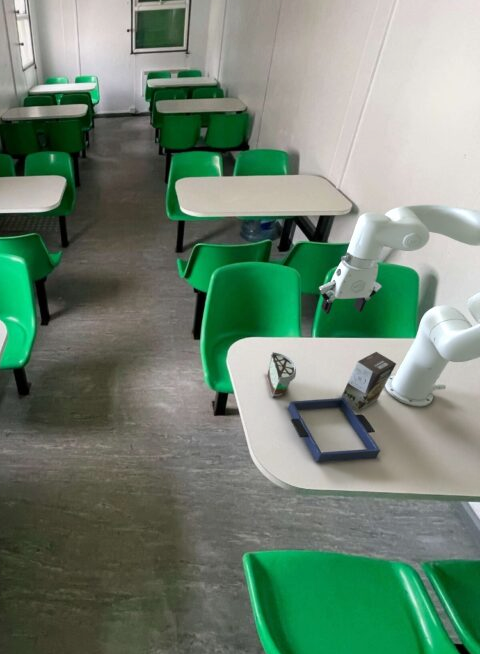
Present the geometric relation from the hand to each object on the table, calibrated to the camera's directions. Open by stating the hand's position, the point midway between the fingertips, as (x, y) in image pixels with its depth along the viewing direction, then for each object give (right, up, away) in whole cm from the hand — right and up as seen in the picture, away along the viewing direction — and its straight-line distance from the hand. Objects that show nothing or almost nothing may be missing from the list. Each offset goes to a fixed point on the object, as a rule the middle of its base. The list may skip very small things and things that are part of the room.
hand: (341, 310), depth 123 cm
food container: (-12, -26, +14) cm, 32 cm away
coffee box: (+10, -28, +9) cm, 32 cm away
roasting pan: (-4, -36, -1) cm, 36 cm away
